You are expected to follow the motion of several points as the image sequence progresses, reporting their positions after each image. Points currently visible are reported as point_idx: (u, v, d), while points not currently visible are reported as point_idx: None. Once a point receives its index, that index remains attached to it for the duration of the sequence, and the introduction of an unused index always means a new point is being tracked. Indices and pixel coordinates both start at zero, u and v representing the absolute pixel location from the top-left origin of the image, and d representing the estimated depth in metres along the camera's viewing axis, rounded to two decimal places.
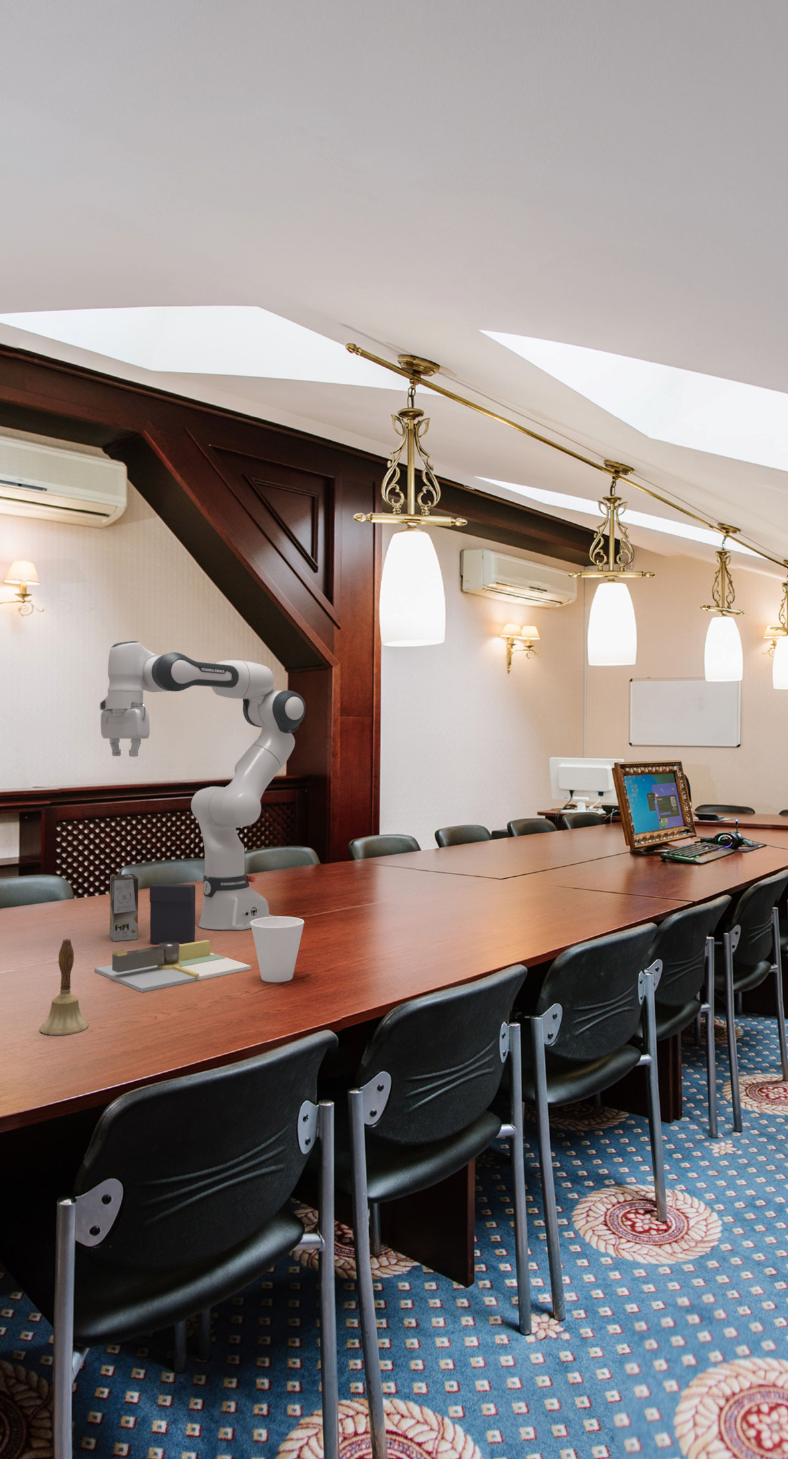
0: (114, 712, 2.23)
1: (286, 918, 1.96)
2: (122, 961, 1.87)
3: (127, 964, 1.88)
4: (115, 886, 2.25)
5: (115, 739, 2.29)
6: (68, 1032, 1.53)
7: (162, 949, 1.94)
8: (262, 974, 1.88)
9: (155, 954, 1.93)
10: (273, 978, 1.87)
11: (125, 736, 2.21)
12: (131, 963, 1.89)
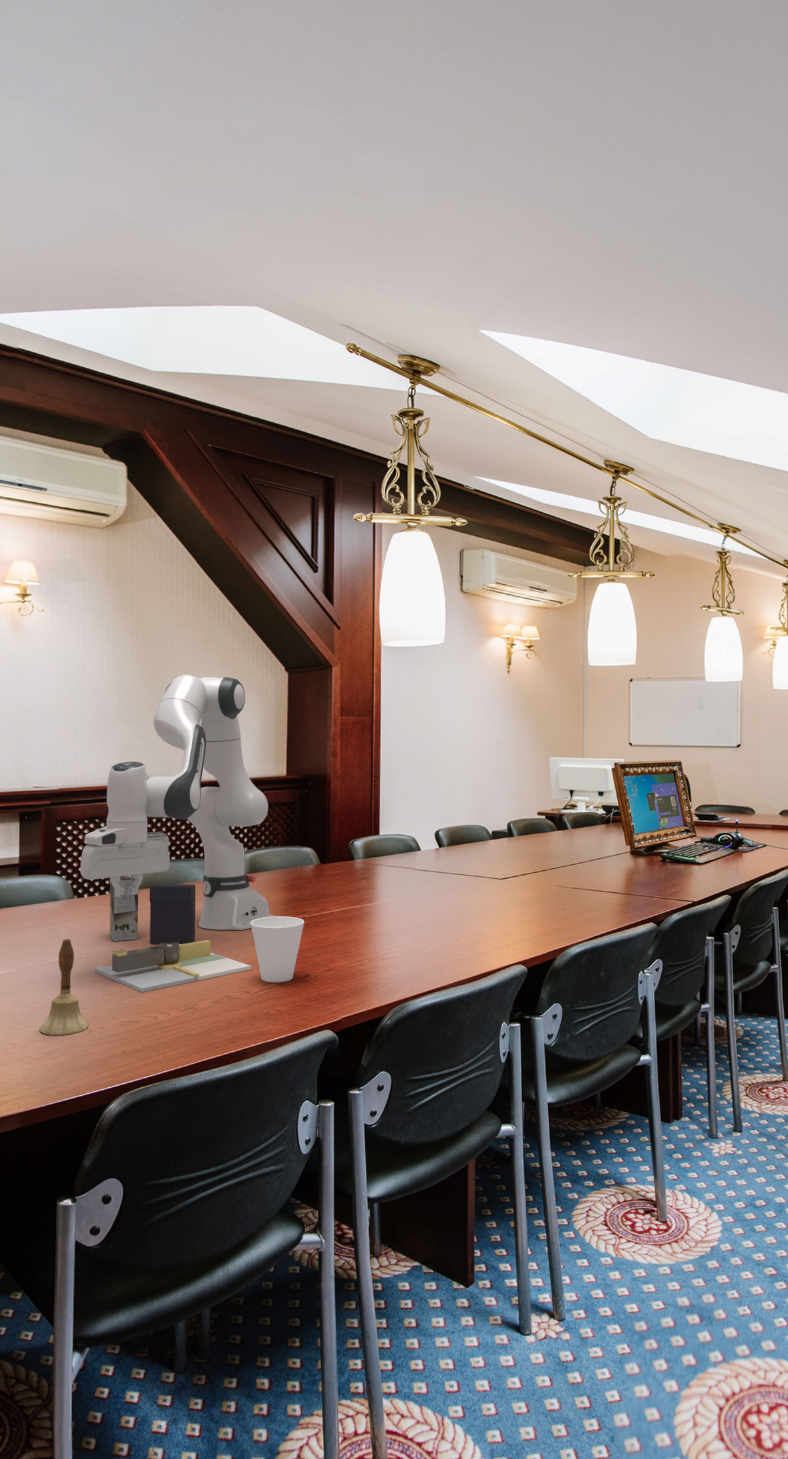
0: (134, 846, 1.94)
1: (286, 918, 1.96)
2: (122, 961, 1.87)
3: (127, 964, 1.88)
4: None
5: None
6: (68, 1032, 1.53)
7: (162, 949, 1.94)
8: (262, 974, 1.88)
9: (155, 954, 1.93)
10: (273, 978, 1.87)
11: (145, 871, 1.97)
12: (131, 963, 1.89)
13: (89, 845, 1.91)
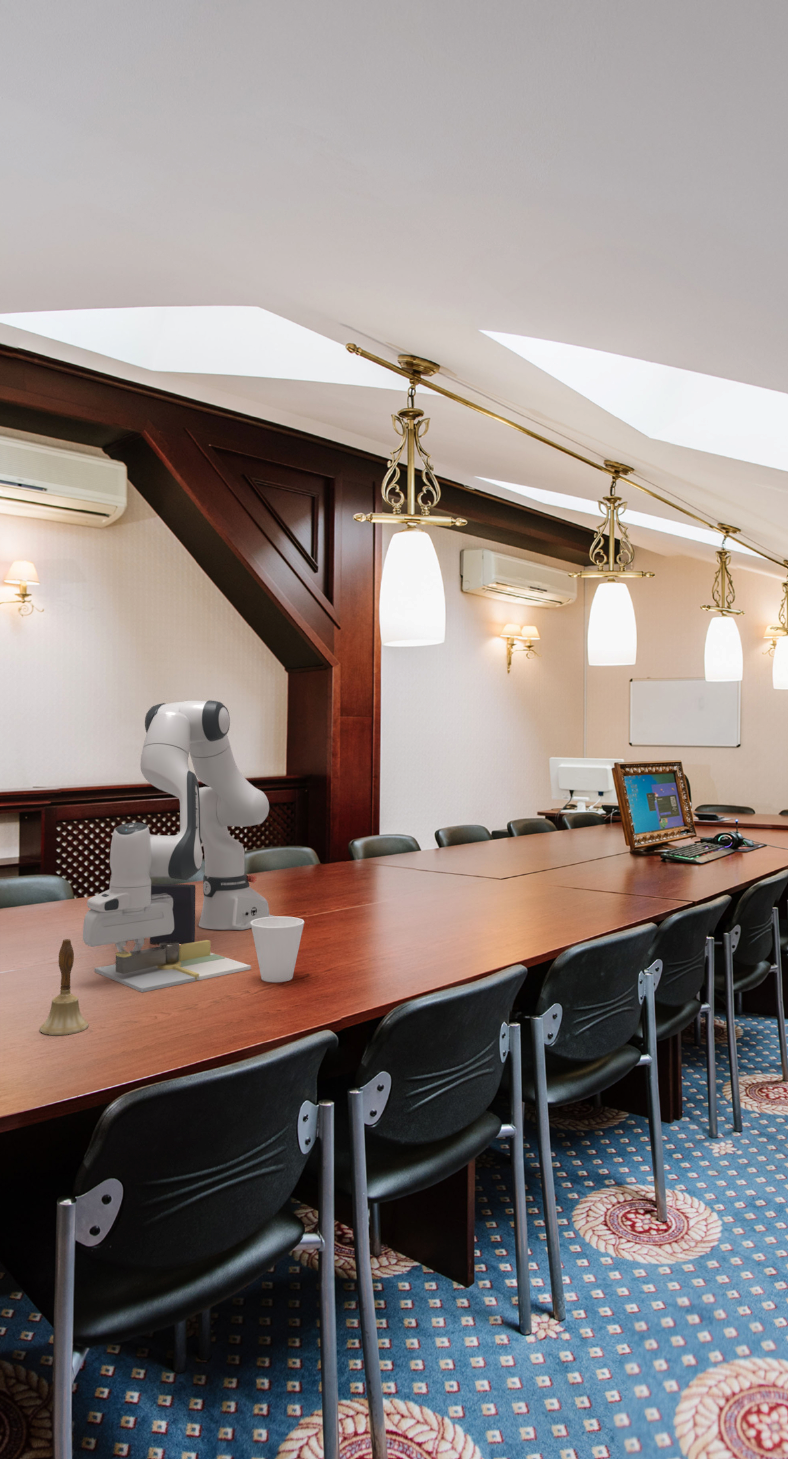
0: (137, 910, 1.89)
1: (286, 918, 1.96)
2: (127, 962, 1.86)
3: (131, 965, 1.87)
4: None
5: None
6: (68, 1032, 1.53)
7: (164, 949, 1.94)
8: (262, 974, 1.88)
9: (157, 954, 1.93)
10: (273, 978, 1.87)
11: (149, 935, 1.93)
12: (135, 964, 1.88)
13: (91, 910, 1.87)
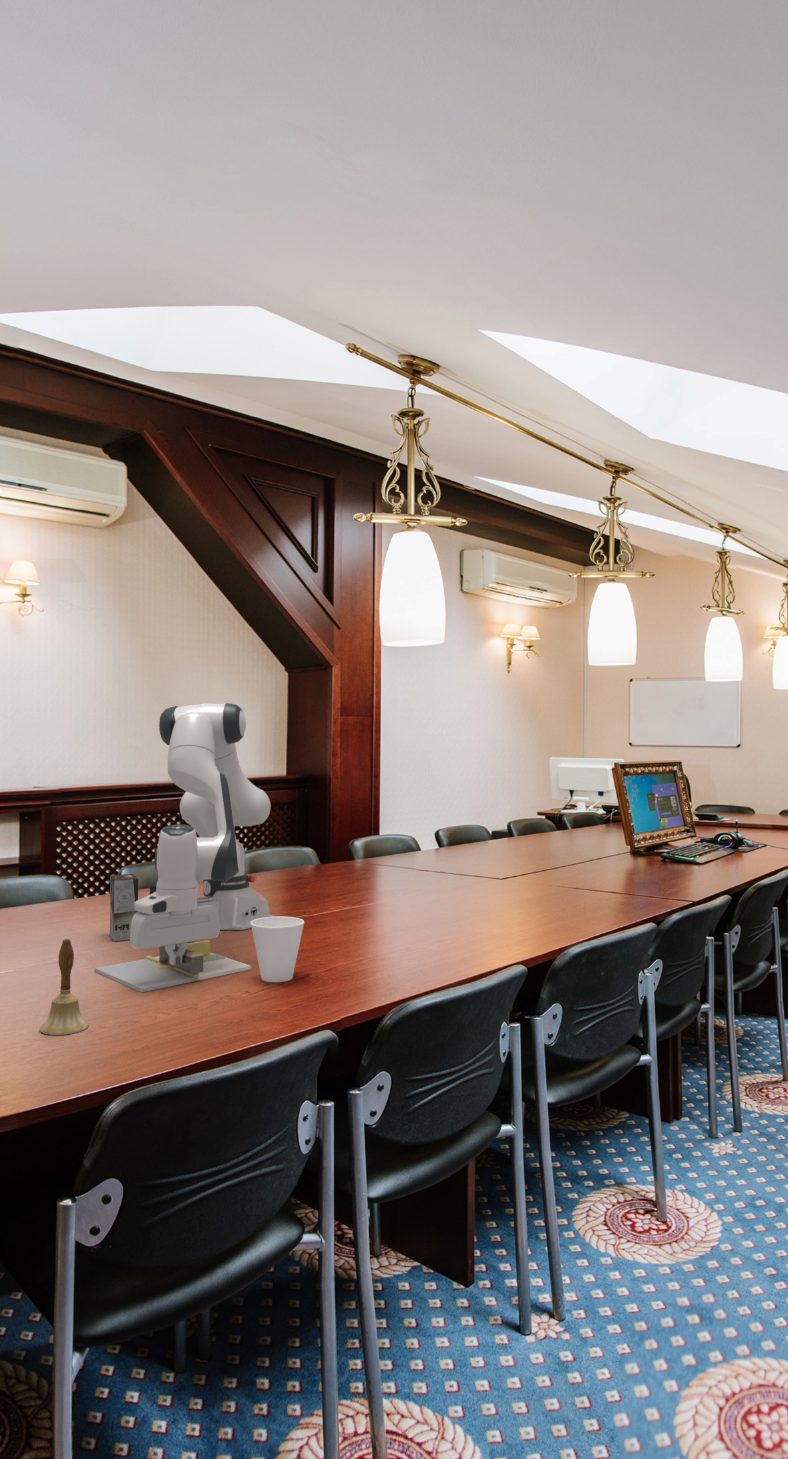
0: (184, 913, 1.87)
1: (286, 918, 1.96)
2: None
3: None
4: (115, 886, 2.25)
5: None
6: (68, 1032, 1.53)
7: None
8: (262, 974, 1.88)
9: None
10: (273, 978, 1.87)
11: (195, 939, 1.90)
12: None
13: (139, 913, 1.84)
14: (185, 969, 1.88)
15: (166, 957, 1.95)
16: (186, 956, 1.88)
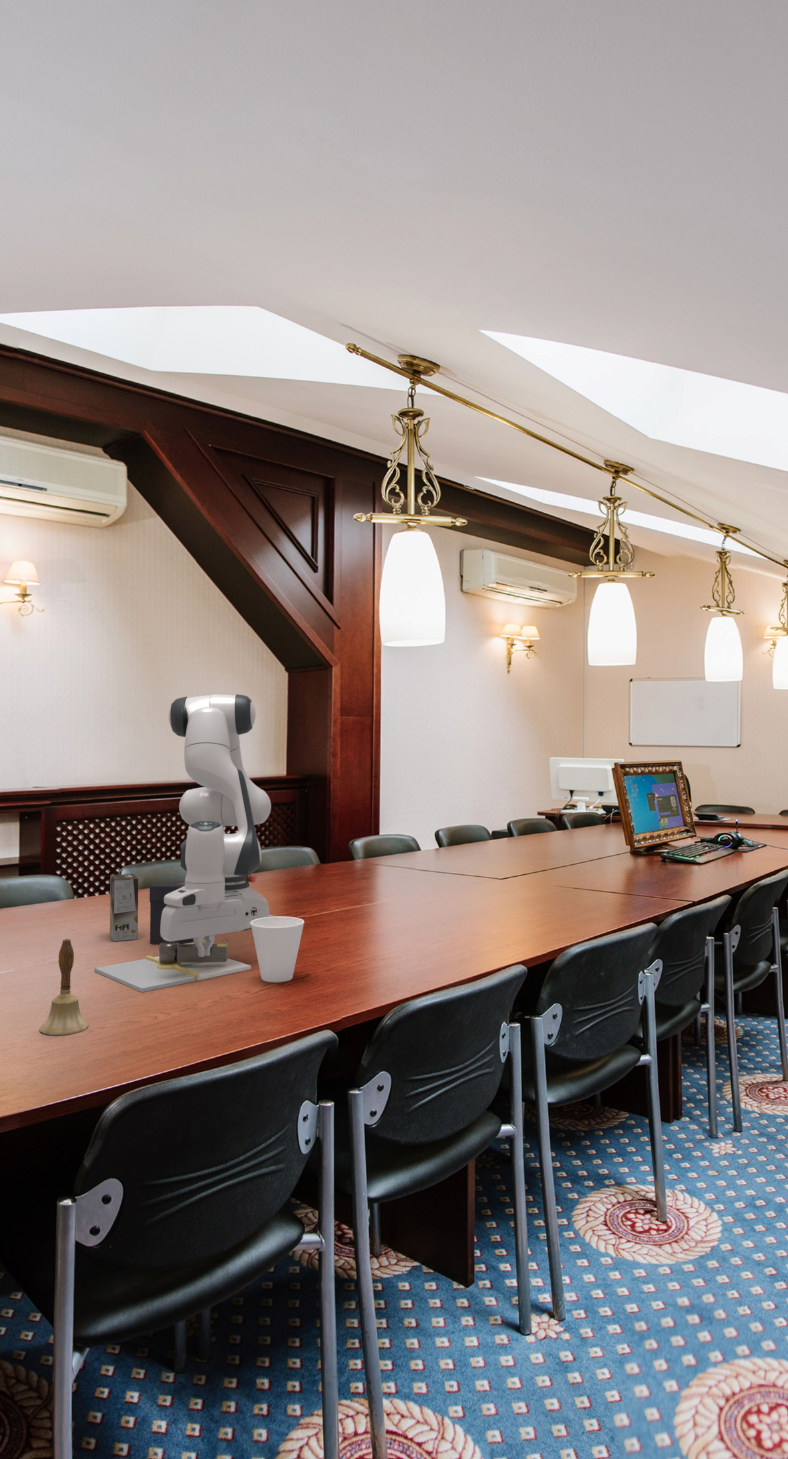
0: (212, 906, 1.93)
1: (286, 918, 1.96)
2: None
3: None
4: (115, 886, 2.25)
5: None
6: (68, 1032, 1.53)
7: None
8: (262, 974, 1.88)
9: None
10: (273, 978, 1.87)
11: (222, 931, 1.96)
12: None
13: (169, 906, 1.90)
14: (214, 960, 1.96)
15: (175, 957, 1.95)
16: (216, 948, 1.96)
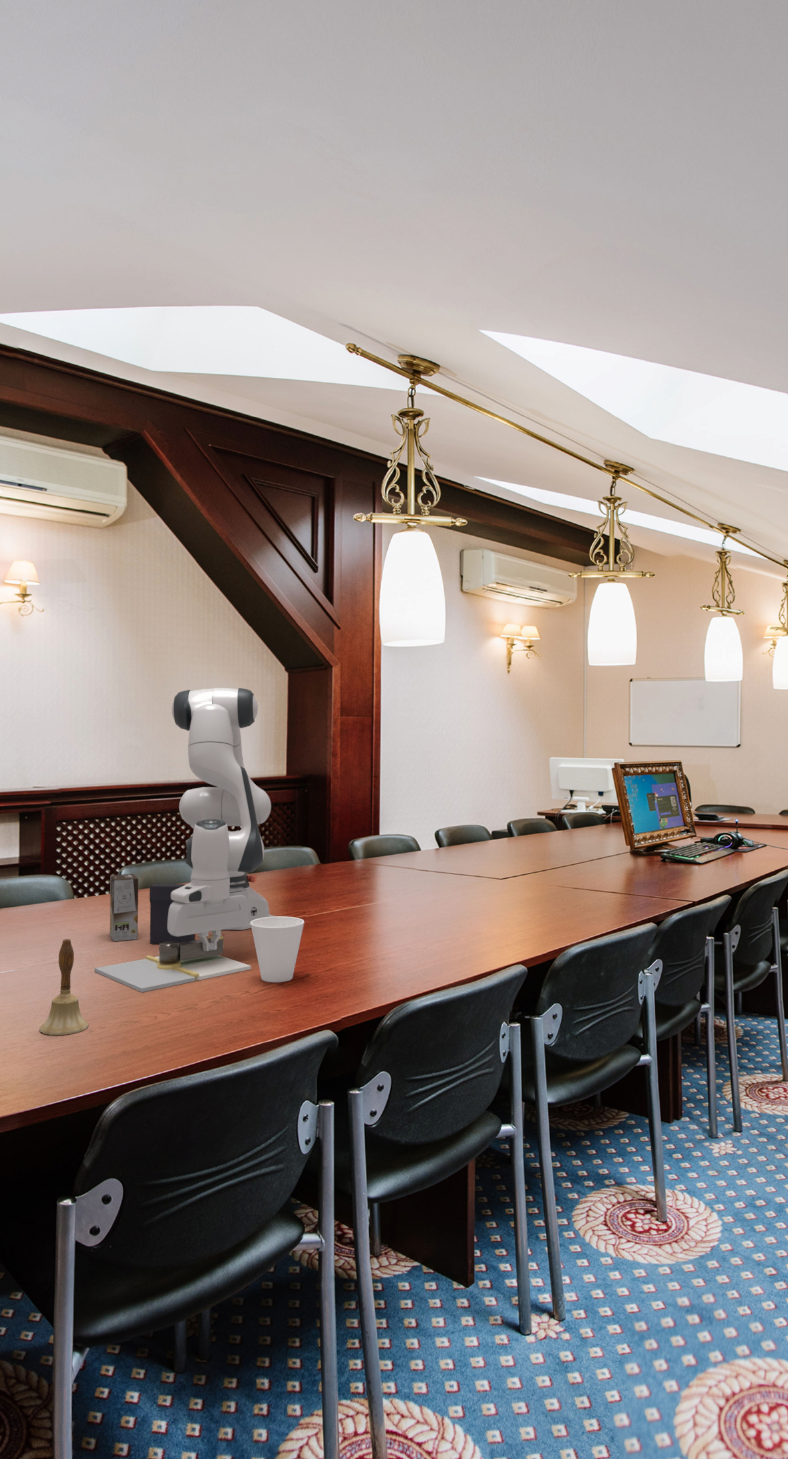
0: (218, 902, 1.99)
1: (286, 918, 1.96)
2: None
3: None
4: (115, 886, 2.25)
5: None
6: (68, 1032, 1.53)
7: None
8: (262, 974, 1.88)
9: None
10: (273, 978, 1.87)
11: (227, 926, 2.02)
12: None
13: (175, 902, 1.96)
14: (213, 953, 2.02)
15: (178, 955, 1.97)
16: None
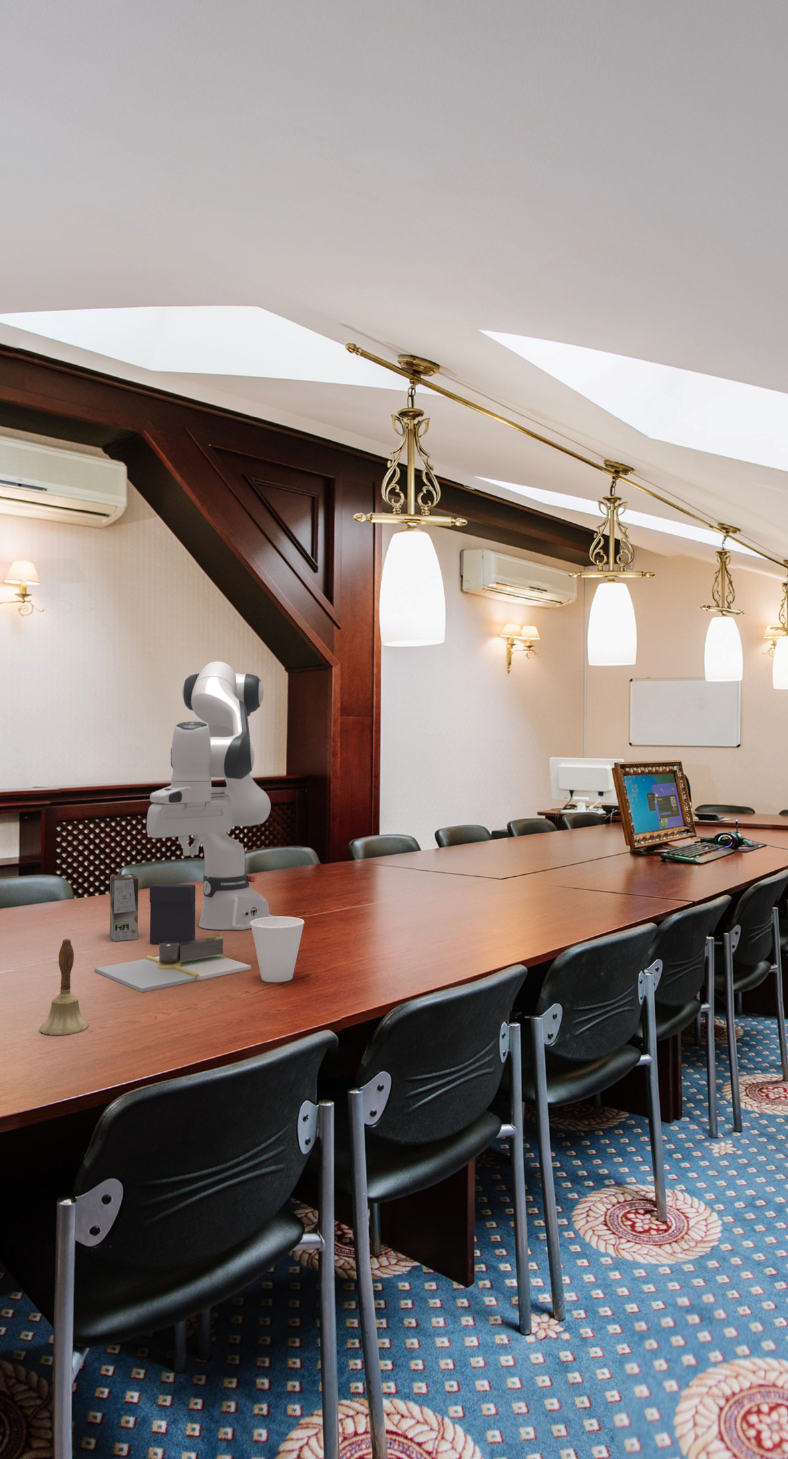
0: (199, 805, 1.93)
1: (286, 918, 1.96)
2: None
3: None
4: (115, 886, 2.25)
5: None
6: (68, 1032, 1.53)
7: None
8: (262, 974, 1.88)
9: None
10: (273, 978, 1.87)
11: (209, 831, 1.96)
12: None
13: (155, 804, 1.90)
14: (212, 953, 2.02)
15: (178, 955, 1.97)
16: (214, 941, 2.03)
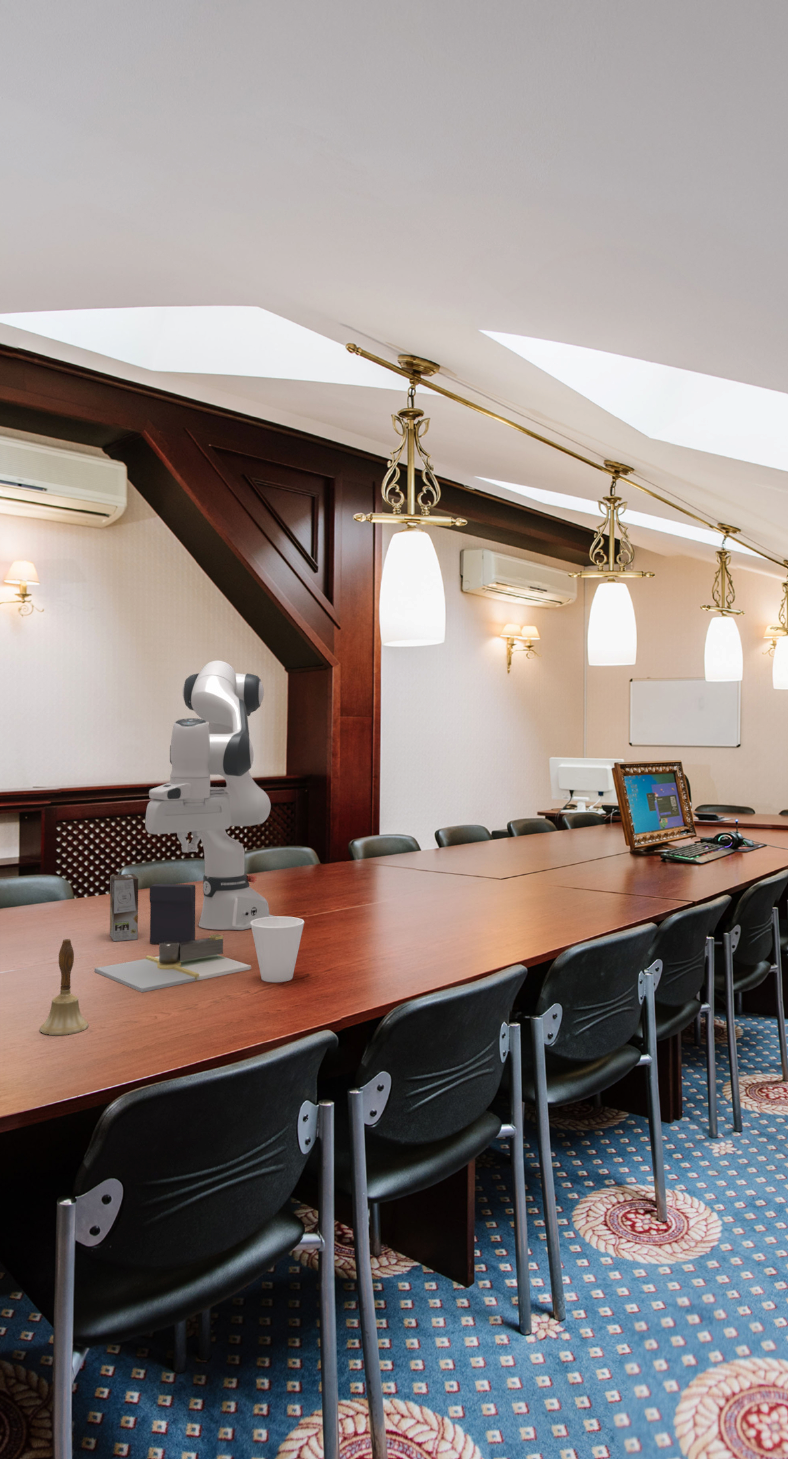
0: (198, 802, 1.93)
1: (286, 918, 1.96)
2: None
3: None
4: (115, 886, 2.25)
5: None
6: (68, 1032, 1.53)
7: None
8: (262, 974, 1.88)
9: None
10: (273, 978, 1.87)
11: (208, 828, 1.96)
12: None
13: (154, 800, 1.90)
14: (212, 953, 2.02)
15: (178, 955, 1.97)
16: (214, 941, 2.03)
